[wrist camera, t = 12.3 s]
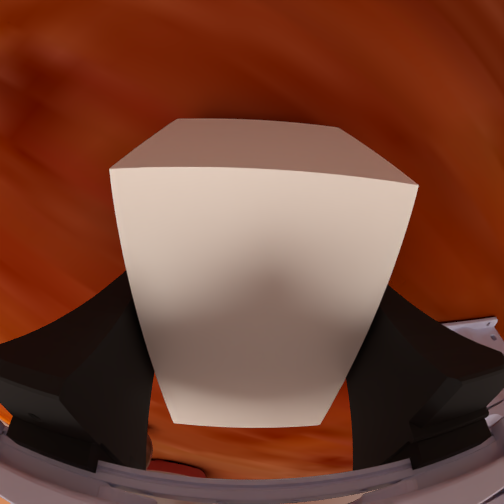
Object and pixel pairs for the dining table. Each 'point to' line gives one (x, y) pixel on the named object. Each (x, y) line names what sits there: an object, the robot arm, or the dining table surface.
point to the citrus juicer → (173, 469)
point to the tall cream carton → (256, 263)
